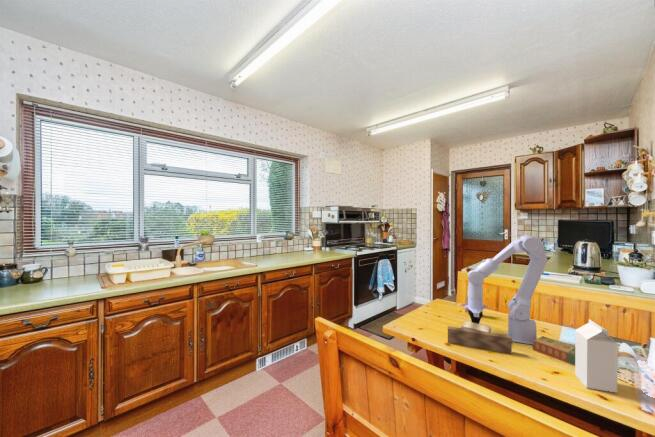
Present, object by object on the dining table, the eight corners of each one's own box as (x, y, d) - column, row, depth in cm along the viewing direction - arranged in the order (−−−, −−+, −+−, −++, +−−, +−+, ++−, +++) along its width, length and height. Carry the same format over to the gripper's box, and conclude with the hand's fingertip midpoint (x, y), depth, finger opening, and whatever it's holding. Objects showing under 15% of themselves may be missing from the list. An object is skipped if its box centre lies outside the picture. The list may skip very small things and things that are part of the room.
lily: (492, 320, 136) (489, 300, 141) (481, 316, 130) (478, 295, 134) (468, 321, 145) (466, 302, 149) (457, 317, 139) (455, 298, 143)
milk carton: (586, 388, 82) (587, 326, 81) (574, 375, 88) (575, 317, 88) (617, 393, 79) (618, 329, 79) (603, 379, 86) (603, 320, 85)
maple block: (490, 338, 115) (491, 326, 115) (487, 344, 109) (487, 332, 109) (465, 331, 121) (465, 320, 121) (461, 337, 116) (461, 325, 116)
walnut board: (510, 351, 104) (510, 335, 104) (511, 354, 102) (511, 338, 101) (447, 340, 113) (447, 326, 113) (447, 342, 111) (447, 328, 111)
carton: (542, 345, 108) (542, 335, 108) (597, 365, 94) (597, 353, 94) (532, 351, 104) (532, 340, 104) (588, 372, 90) (588, 359, 90)
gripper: (464, 291, 128) (464, 320, 128) (465, 301, 115) (465, 332, 115) (481, 293, 125) (481, 322, 125) (484, 303, 112) (484, 335, 112)
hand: (475, 327), depth 120 cm, fingers closed
